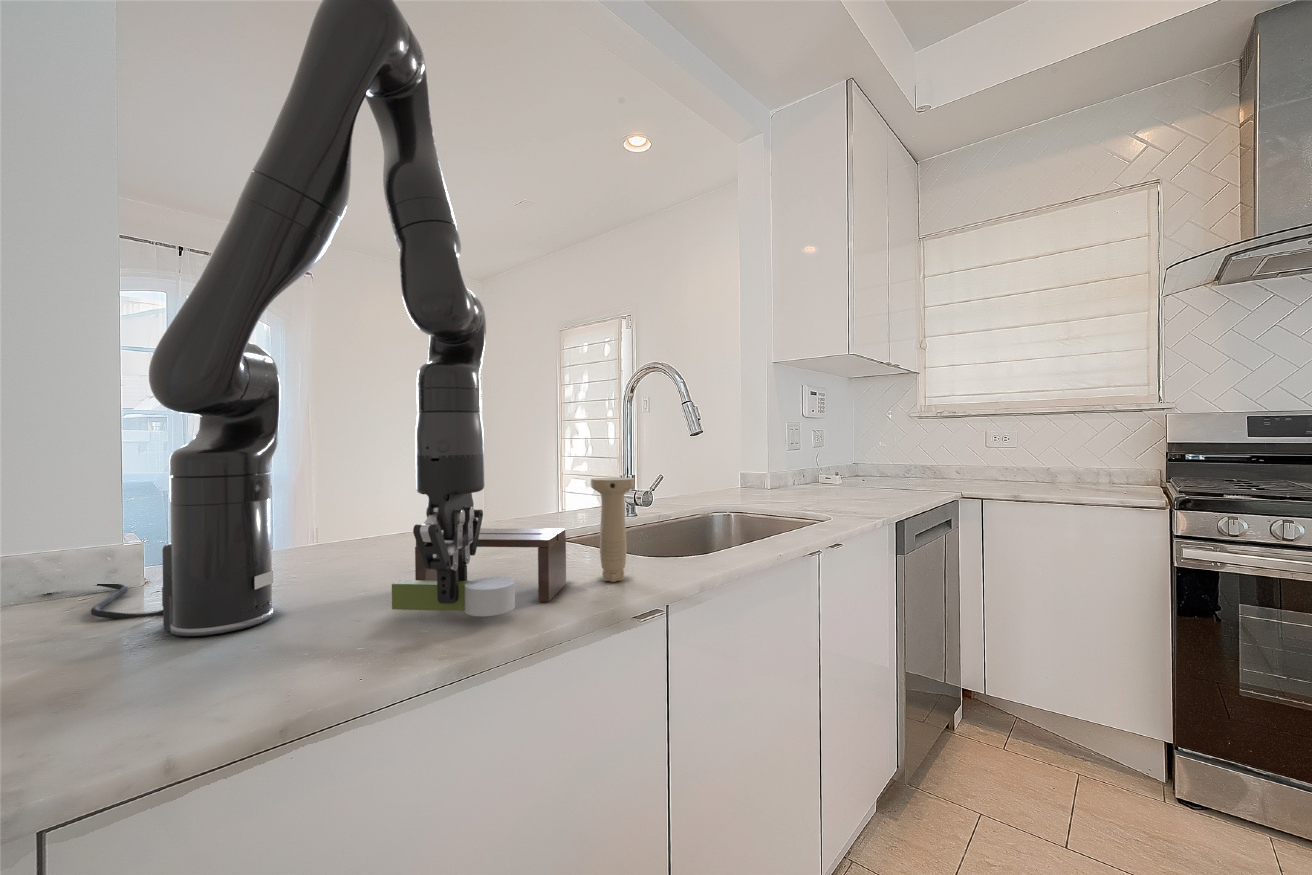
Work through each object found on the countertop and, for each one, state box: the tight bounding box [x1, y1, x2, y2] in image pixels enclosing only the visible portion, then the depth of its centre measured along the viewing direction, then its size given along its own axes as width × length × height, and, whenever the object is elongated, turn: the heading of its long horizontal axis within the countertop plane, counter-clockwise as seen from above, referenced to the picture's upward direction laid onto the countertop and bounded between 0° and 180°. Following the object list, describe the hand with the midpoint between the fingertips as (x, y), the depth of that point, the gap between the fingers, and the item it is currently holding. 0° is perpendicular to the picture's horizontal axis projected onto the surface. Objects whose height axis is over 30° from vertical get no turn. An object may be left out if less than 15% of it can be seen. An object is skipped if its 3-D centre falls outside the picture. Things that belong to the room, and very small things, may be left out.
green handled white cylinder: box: [391, 576, 516, 617], centre depth 66 cm, size 14×6×3 cm, turn 85°
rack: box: [414, 527, 567, 603], centre depth 77 cm, size 18×9×8 cm, turn 85°
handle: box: [590, 477, 635, 583], centre depth 83 cm, size 5×6×15 cm
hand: (452, 598), depth 66 cm, fingers closed on green handled white cylinder, 2 cm apart
